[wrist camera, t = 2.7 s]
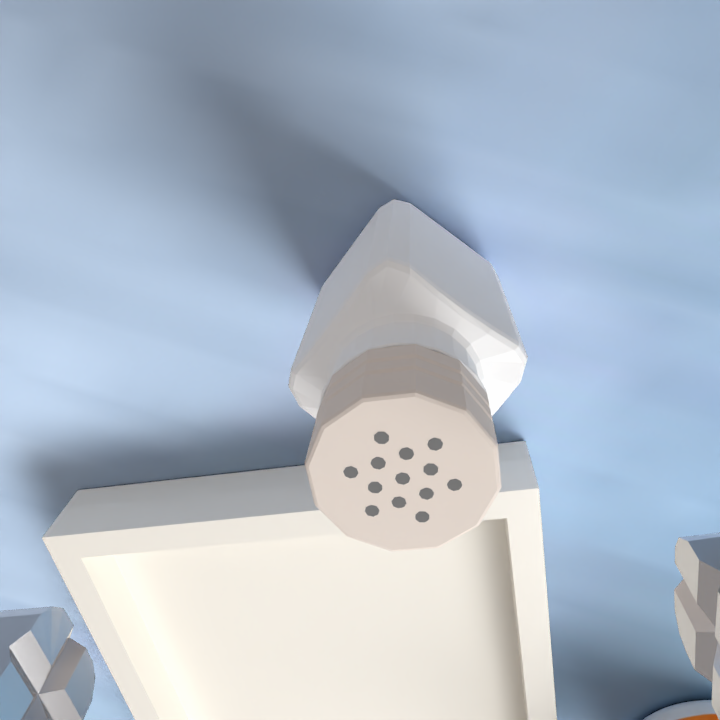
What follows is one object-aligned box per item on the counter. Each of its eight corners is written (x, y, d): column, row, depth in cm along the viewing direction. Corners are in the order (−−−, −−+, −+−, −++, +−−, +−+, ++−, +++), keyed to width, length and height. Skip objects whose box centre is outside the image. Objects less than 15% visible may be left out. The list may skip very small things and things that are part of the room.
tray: (525, 440, 21) (538, 488, 19) (551, 748, 28) (564, 810, 25) (77, 490, 23) (42, 537, 21) (203, 762, 30) (186, 820, 28)
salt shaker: (418, 366, 20) (424, 605, 11) (313, 294, 19) (235, 494, 11) (504, 268, 18) (584, 462, 10) (393, 185, 18) (374, 317, 9)
